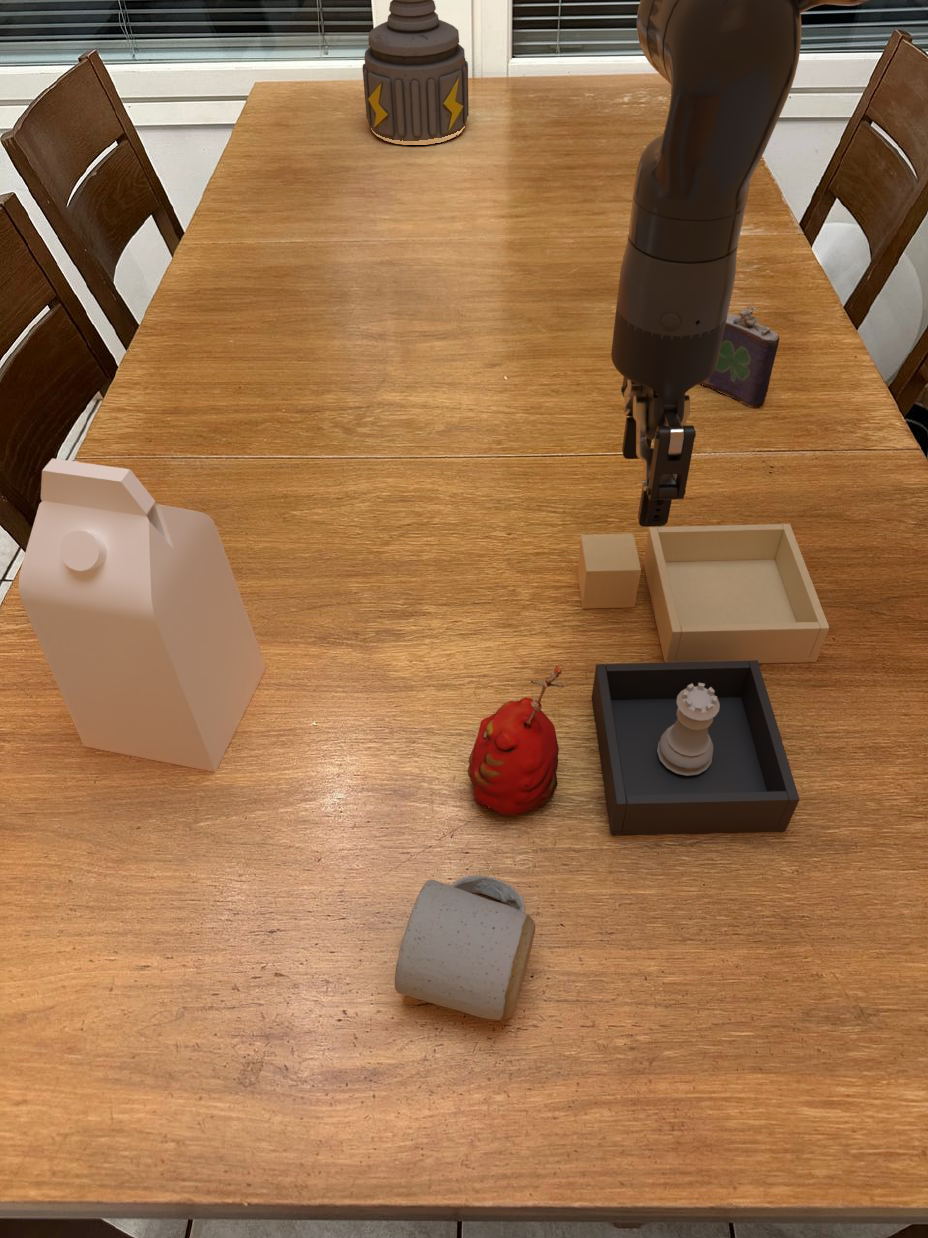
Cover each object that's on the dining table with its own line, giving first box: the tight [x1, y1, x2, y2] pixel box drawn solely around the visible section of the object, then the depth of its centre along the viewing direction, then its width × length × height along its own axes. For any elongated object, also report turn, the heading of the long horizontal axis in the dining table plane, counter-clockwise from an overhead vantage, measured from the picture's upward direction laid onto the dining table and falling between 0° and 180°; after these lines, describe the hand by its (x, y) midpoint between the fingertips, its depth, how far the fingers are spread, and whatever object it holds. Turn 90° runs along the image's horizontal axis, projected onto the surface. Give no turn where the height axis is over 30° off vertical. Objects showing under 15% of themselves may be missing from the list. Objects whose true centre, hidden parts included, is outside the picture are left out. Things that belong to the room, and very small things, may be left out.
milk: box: [17, 457, 267, 773], centre depth 73 cm, size 12×12×26 cm
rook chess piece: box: [657, 683, 720, 776], centre depth 75 cm, size 4×4×8 cm
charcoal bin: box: [591, 660, 800, 836], centre depth 76 cm, size 14×14×5 cm
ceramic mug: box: [394, 874, 536, 1021], centre depth 64 cm, size 11×8×8 cm
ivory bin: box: [642, 523, 830, 664], centre depth 88 cm, size 14×14×5 cm
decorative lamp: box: [361, 0, 470, 141], centre depth 162 cm, size 19×19×30 cm
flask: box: [699, 305, 780, 409], centre depth 110 cm, size 9×3×11 cm, turn 46°
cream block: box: [576, 533, 642, 610], centre depth 90 cm, size 5×5×5 cm
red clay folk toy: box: [467, 665, 564, 816], centre depth 71 cm, size 8×7×15 cm
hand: (643, 488), depth 76 cm, fingers open, 8 cm apart
